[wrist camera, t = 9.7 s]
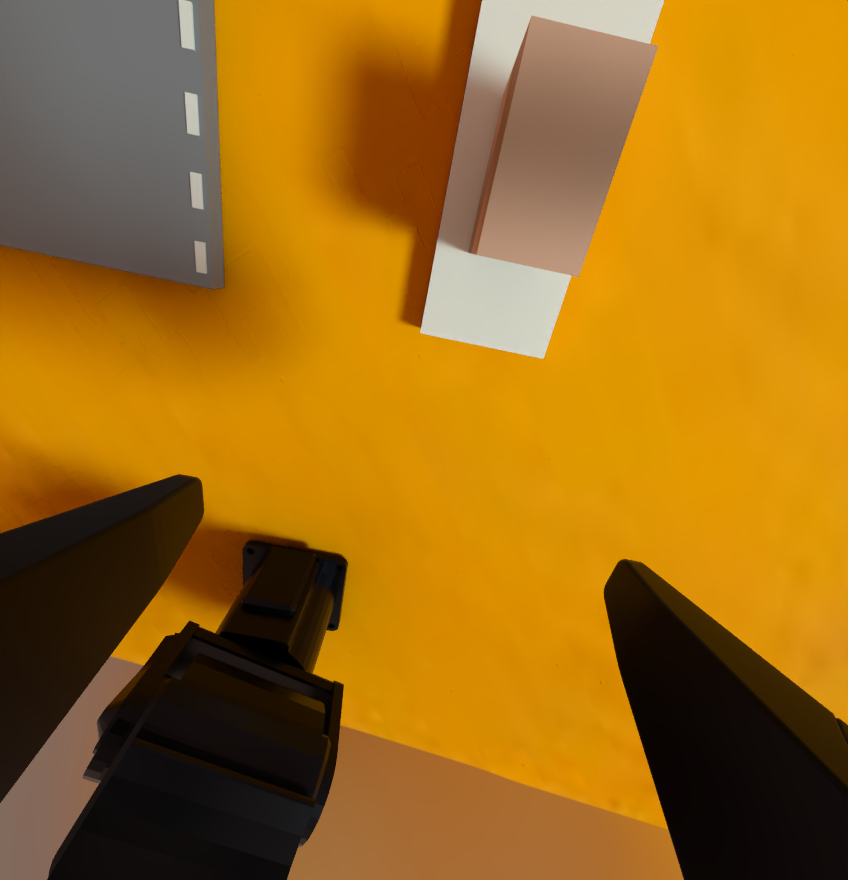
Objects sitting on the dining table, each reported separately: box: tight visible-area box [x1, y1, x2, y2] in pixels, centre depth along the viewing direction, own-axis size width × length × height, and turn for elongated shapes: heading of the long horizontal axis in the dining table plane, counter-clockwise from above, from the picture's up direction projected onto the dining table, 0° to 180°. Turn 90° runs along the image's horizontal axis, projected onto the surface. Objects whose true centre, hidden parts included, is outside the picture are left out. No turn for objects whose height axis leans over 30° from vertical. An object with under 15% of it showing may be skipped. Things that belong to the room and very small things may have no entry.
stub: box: [420, 0, 664, 359], centre depth 13 cm, size 12×6×6 cm, turn 169°
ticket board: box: [0, 0, 224, 289], centre depth 14 cm, size 12×12×1 cm
